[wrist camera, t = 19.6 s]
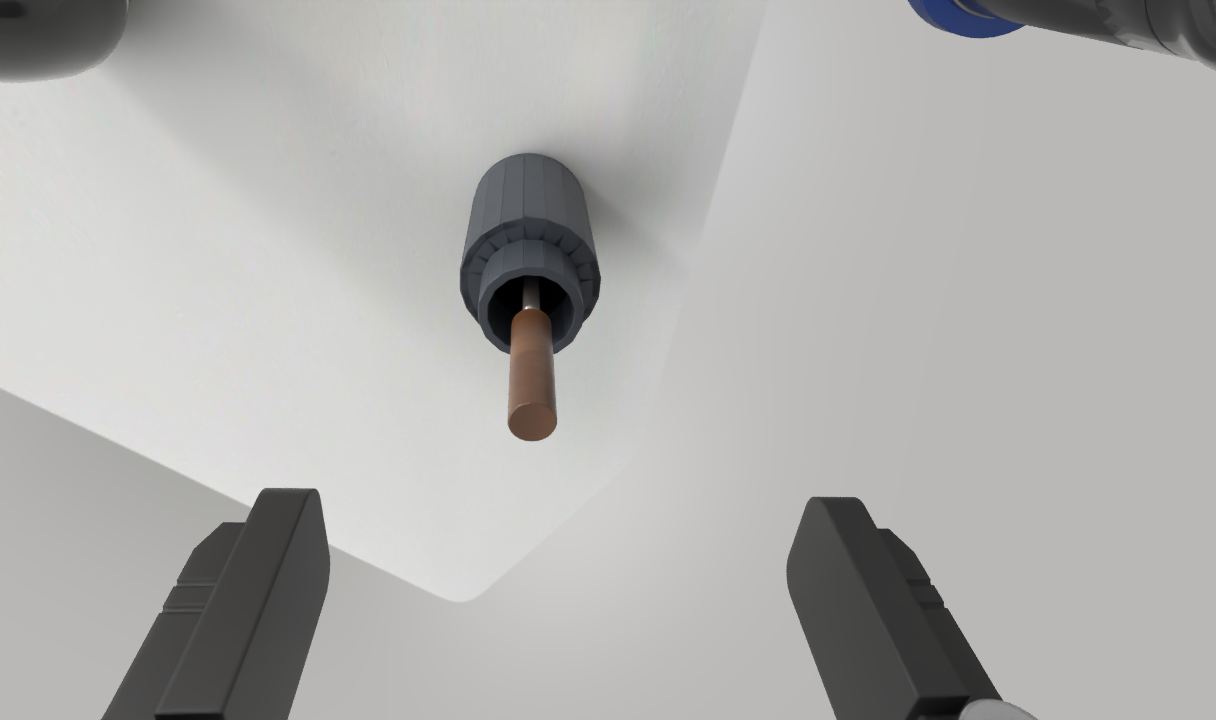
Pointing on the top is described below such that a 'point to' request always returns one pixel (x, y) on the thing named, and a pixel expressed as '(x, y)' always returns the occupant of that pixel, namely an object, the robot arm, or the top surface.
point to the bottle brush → (531, 369)
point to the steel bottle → (529, 249)
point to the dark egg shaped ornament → (57, 37)
